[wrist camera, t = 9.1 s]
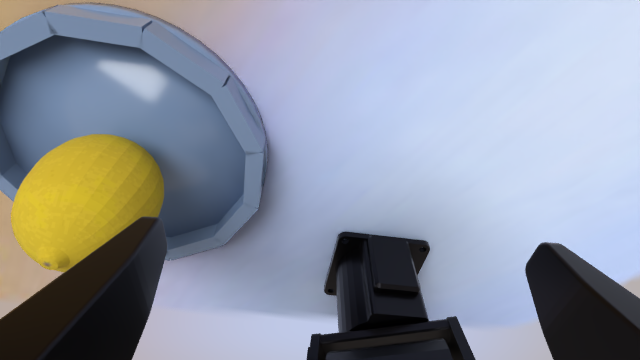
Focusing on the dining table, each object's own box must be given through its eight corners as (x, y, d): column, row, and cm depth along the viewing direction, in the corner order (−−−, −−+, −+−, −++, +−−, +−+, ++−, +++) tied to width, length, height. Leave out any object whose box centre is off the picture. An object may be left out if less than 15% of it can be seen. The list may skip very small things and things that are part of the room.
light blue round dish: (259, 248, 26) (255, 270, 25) (35, 224, 25) (15, 246, 23) (279, 32, 17) (276, 45, 16) (-68, -26, 16) (-111, -18, 14)
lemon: (182, 118, 19) (115, 224, 13) (182, 198, 22) (129, 315, 16) (69, 97, 18) (-63, 198, 12) (86, 183, 22) (-11, 299, 15)
